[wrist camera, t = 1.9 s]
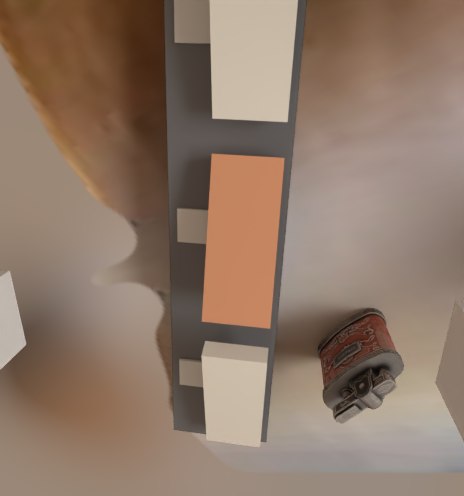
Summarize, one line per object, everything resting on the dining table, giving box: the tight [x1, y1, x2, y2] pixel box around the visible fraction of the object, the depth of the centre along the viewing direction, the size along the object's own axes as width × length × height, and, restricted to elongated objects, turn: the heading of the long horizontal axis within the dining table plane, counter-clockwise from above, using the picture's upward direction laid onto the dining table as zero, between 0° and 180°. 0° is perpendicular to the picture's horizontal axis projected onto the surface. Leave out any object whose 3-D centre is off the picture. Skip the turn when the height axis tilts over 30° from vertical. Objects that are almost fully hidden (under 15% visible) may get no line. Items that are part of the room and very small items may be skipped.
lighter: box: [318, 308, 404, 424], centre depth 38 cm, size 8×3×10 cm, turn 137°
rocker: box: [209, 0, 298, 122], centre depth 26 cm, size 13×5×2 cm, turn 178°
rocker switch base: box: [164, 0, 307, 442], centre depth 35 cm, size 50×10×7 cm, turn 178°
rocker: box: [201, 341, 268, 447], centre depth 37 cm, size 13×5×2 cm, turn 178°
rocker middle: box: [202, 154, 285, 329], centre depth 31 cm, size 13×5×2 cm, turn 178°
